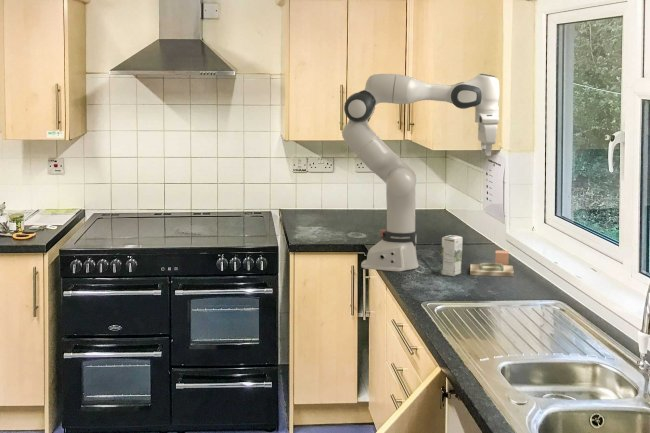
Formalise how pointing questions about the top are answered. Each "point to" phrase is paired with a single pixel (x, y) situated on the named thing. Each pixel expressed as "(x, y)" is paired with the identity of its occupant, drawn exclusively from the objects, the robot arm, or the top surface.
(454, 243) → the syrup box
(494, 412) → the top surface
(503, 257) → the block
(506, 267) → the build board
